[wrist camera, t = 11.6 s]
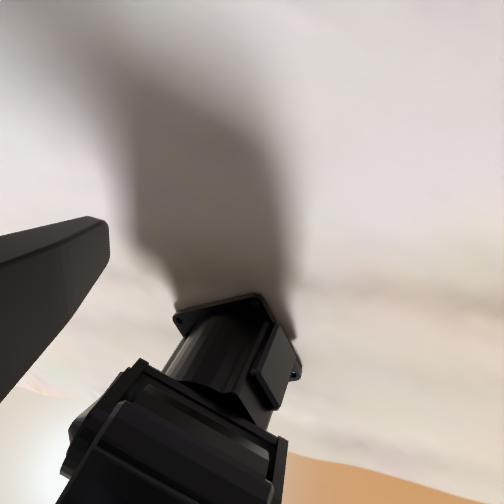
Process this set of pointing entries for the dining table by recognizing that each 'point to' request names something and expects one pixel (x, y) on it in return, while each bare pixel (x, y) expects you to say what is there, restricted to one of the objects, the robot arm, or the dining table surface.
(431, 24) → the dining table surface
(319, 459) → the dining table surface
